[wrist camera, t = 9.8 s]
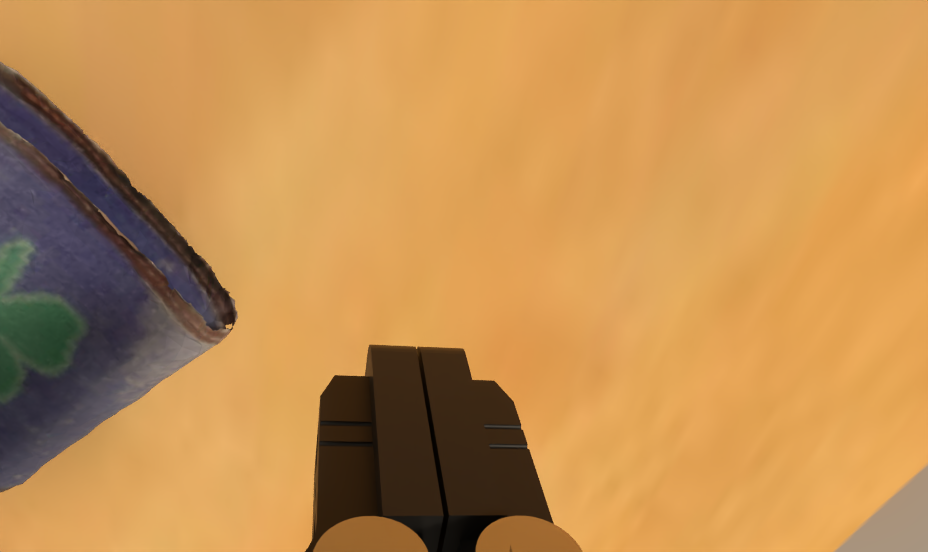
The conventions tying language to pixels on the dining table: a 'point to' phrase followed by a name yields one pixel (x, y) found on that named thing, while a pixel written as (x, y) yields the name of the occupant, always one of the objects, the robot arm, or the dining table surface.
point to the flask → (84, 286)
